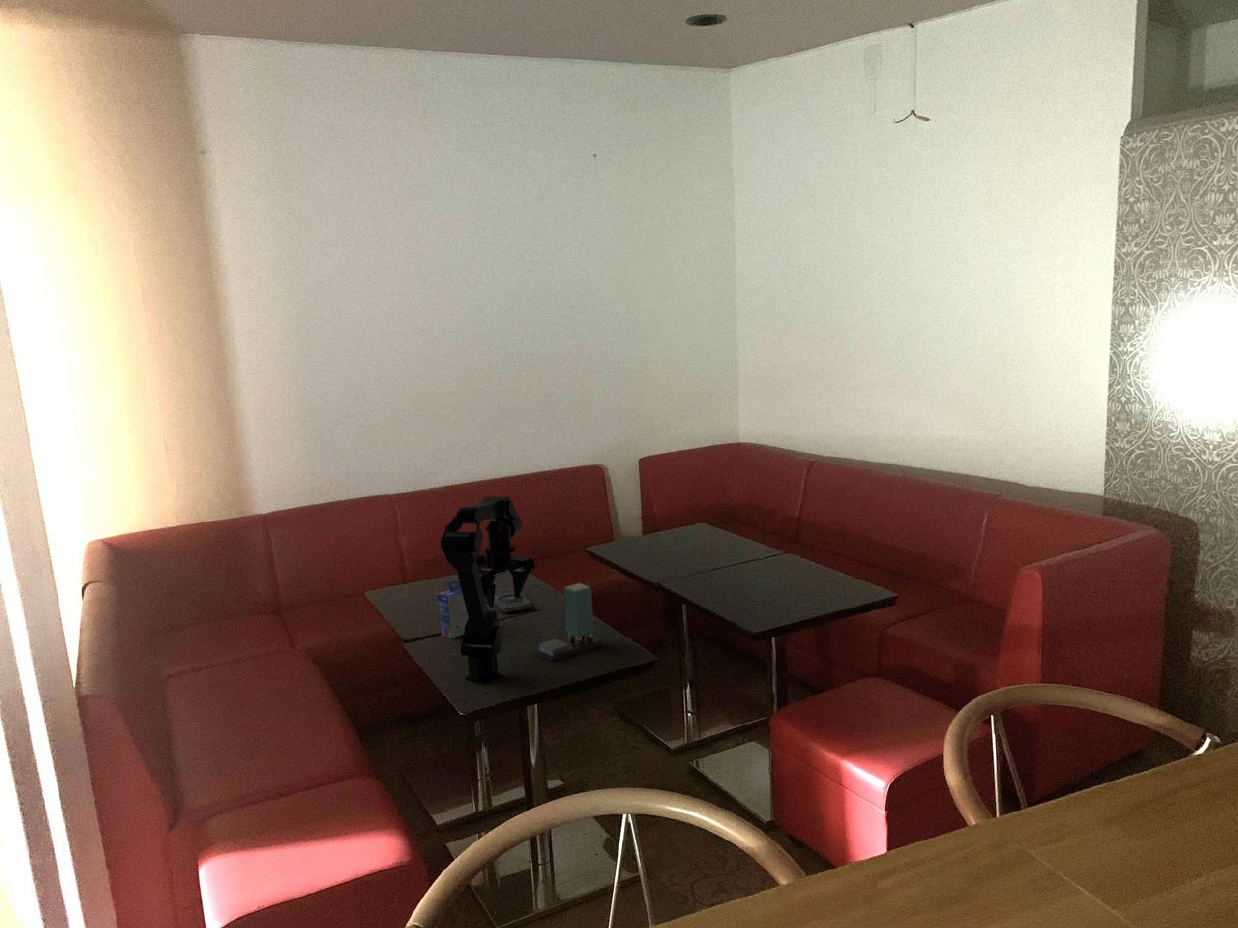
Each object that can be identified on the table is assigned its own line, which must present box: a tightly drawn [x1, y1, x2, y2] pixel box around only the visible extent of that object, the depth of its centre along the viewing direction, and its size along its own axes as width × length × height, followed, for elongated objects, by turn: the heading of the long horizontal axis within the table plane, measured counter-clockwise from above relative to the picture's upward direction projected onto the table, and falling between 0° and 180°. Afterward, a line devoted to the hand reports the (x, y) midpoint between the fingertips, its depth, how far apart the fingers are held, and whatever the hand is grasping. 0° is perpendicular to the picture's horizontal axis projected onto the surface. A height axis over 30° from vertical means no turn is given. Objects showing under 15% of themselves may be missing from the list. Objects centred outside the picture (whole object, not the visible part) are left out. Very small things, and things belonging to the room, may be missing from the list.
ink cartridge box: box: [436, 579, 468, 639], centre depth 262 cm, size 10×6×14 cm, turn 137°
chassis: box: [533, 633, 603, 662], centre depth 246 cm, size 16×8×4 cm, turn 129°
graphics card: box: [485, 586, 533, 613], centre depth 284 cm, size 17×4×12 cm
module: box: [563, 582, 594, 637], centre depth 247 cm, size 5×5×12 cm
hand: (504, 602), depth 245 cm, fingers open, 9 cm apart
